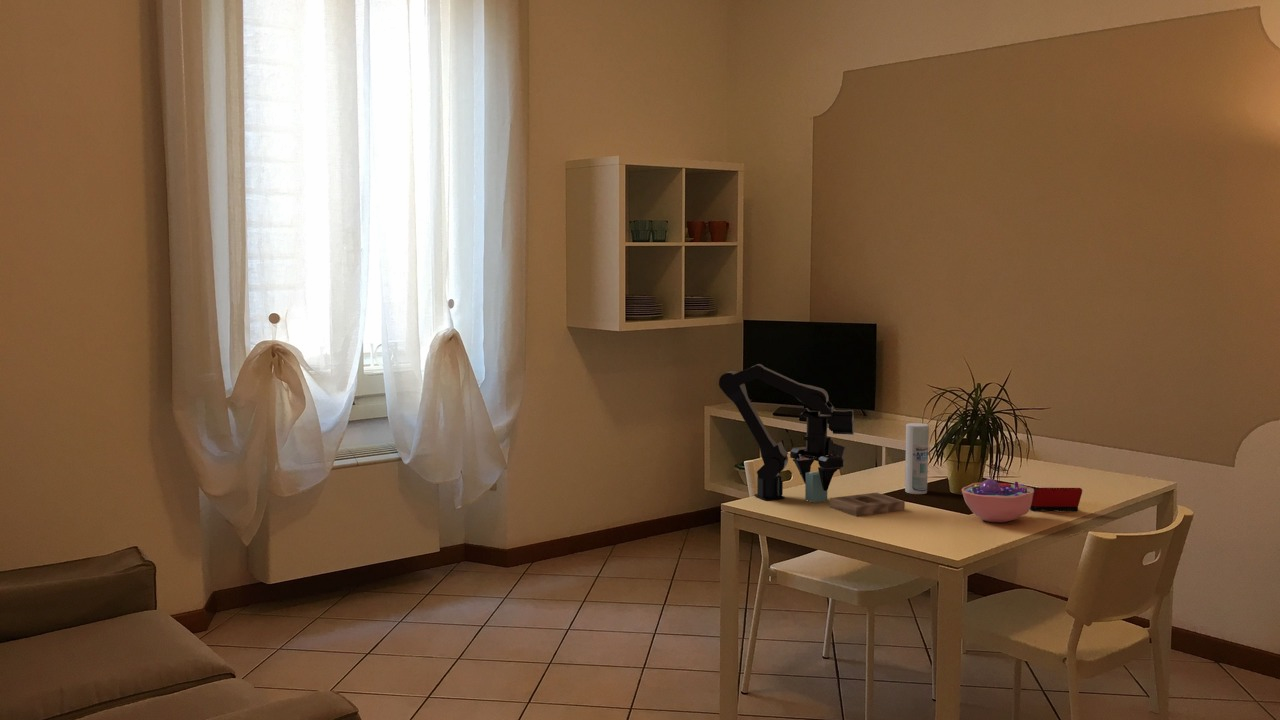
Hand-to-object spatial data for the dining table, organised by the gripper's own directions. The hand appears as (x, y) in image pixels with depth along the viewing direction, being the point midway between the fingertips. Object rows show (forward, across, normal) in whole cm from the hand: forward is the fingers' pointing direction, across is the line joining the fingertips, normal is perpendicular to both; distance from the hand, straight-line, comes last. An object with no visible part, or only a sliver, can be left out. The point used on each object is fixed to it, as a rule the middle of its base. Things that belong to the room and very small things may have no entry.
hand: (816, 487), depth 287 cm
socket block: (+4, -14, -7) cm, 16 cm away
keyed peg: (+4, 0, 0) cm, 4 cm away
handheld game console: (+4, -36, -52) cm, 64 cm away
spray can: (+4, -3, -33) cm, 33 cm away
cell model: (+4, -39, -30) cm, 49 cm away
